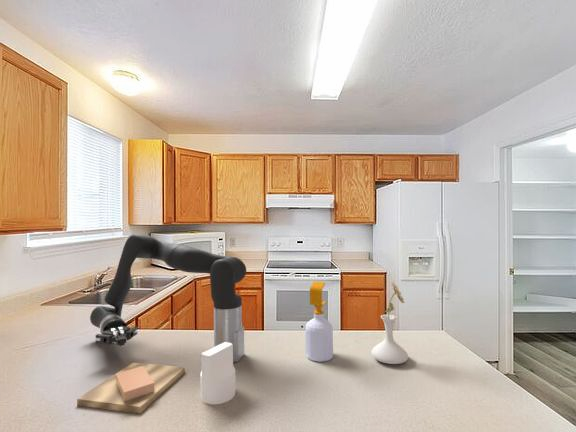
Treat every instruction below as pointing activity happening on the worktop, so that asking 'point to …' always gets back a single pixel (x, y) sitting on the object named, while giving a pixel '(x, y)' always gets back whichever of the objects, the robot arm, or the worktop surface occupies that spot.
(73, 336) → the worktop surface
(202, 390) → the base with upright slab
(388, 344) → the flower in vase
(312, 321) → the soap bottle
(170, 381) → the board
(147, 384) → the tile
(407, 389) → the worktop surface
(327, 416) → the worktop surface
